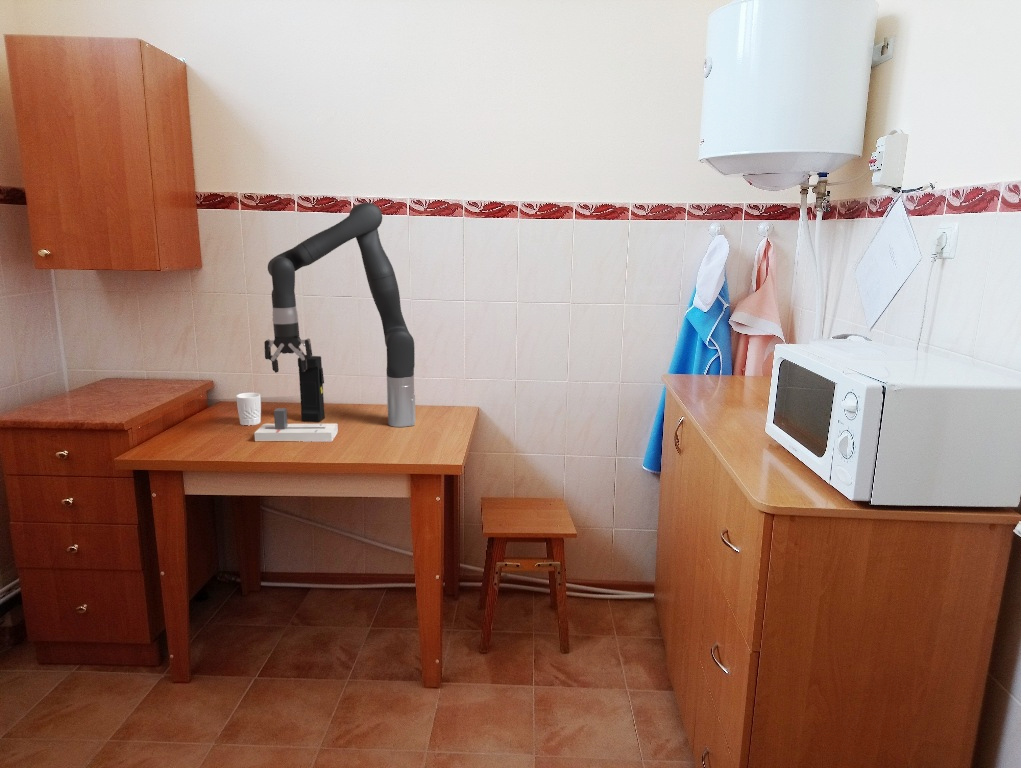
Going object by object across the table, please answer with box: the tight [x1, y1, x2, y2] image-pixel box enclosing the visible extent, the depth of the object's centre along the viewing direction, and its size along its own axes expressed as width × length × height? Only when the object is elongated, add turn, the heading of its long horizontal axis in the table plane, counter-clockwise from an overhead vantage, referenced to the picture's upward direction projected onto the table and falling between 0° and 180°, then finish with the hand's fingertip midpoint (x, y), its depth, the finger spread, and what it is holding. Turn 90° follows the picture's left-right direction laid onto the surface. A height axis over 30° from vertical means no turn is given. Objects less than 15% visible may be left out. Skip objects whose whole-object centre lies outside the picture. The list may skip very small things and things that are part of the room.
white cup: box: [235, 392, 262, 427], centre depth 237 cm, size 8×8×10 cm
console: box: [254, 422, 339, 443], centre depth 223 cm, size 24×10×3 cm, turn 93°
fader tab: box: [273, 407, 288, 429], centre depth 222 cm, size 3×4×6 cm
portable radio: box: [297, 355, 326, 423], centre depth 240 cm, size 8×6×25 cm
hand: (290, 371), depth 220 cm, fingers open, 8 cm apart
